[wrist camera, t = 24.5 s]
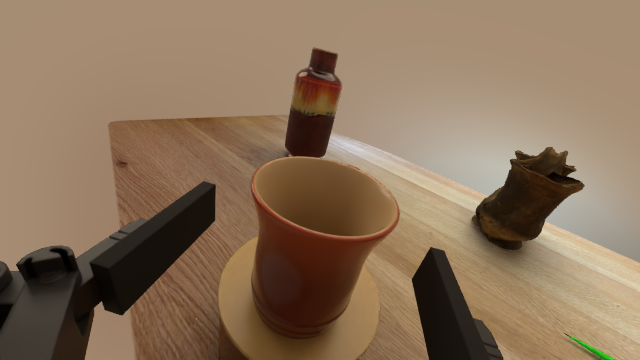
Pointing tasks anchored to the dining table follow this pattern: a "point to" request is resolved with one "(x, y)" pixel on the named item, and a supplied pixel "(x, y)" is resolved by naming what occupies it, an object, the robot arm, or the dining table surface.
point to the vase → (313, 106)
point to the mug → (313, 240)
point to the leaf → (593, 350)
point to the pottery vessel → (526, 198)
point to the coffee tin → (276, 350)
